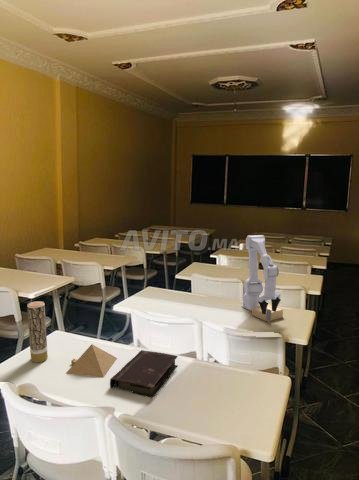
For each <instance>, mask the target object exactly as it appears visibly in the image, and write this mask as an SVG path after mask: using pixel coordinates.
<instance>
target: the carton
mask: <svg viewBox="0 0 359 480" xmlns="http://www.w3.org/2000/svg"><path fill="white" fill-rule="evenodd" d="M253 308H254V309H257V310H259V311H261V312H262V310H261V307H260V305H259V306H257V307H253ZM267 309H270V310H271V321H274V320H278V319H281V318H283V317H284V315H283V314H284V309H283V308H280V307H278V306H277V309H276V312H274V311H272V304H270V303H268V305H267ZM267 309H266V313H267ZM266 322H269V321H268V320H267V321H266Z"/></svg>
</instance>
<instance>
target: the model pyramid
mask: <svg viewBox="0 0 359 480" xmlns="http://www.w3.org/2000/svg"><path fill="white" fill-rule="evenodd" d="M117 360H118V357H116V356H114V355H112V354H111V353H109V352H107V351H105V350H103V349H101V348H100V347H98V346H96V345H94V344H93V343H91V344H90V345H89V346H88V348H87V349H86V350H85V351H84V352H83V353H82V354H81V355H80V356H79V357H78V358H77V359H76V358H72V359H71V366H70V368H69V369H68V370H67V371H66V372H65V374H67V375H77V376H87V377H96V378H105V377H106V375H107V373H108V372H109V371H110V369H111V368H112V366H113V365H114V364H115V363H116V361H117Z"/></svg>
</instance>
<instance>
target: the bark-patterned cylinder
mask: <svg viewBox="0 0 359 480" xmlns="http://www.w3.org/2000/svg"><path fill="white" fill-rule="evenodd" d="M26 308H27V319H28V320H27V321H28V322H27V323H28V334H29V337H28V338H29V352H30V360H31V362H33V363H42V362H45V361H46V360H47V359H48V339H47V323H46V322H47V321H46V319H47V318H46V306H45V301H41V300H40V301H38V300H37V301H30V302H28V303H27V307H26Z"/></svg>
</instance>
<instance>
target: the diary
mask: <svg viewBox="0 0 359 480" xmlns="http://www.w3.org/2000/svg"><path fill="white" fill-rule="evenodd" d="M177 358H178V355H175V354H170V353H165V352H159V351H158V352H157V351H150V350H143V349H142V350H140V351H139V352H138V353H137V354H136V355H135V356H133V358H131V359H130V360H129V361H128V362H127V363H125V365H124V366H122V368H121V369H120V370H119V371H118V372H116V373H115V375H113V376H112V377H111V378H110V379H109V385H110V389H113V388H114V387H115V389H120V390H125V391H129V392H131V394H134V395H138V396H142V397H146V396H147V398H153V397H155V395H156V394H157V393H158V392H159V391H160V390H161V388H162V387H163V386H164V384H165V382H166V381H167V380H168V379H169V378H170V375H171V374H172V373H173V372H174V371H175V370H176V369H177V368H178V366H179V365H177V364H176V359H177Z"/></svg>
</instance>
